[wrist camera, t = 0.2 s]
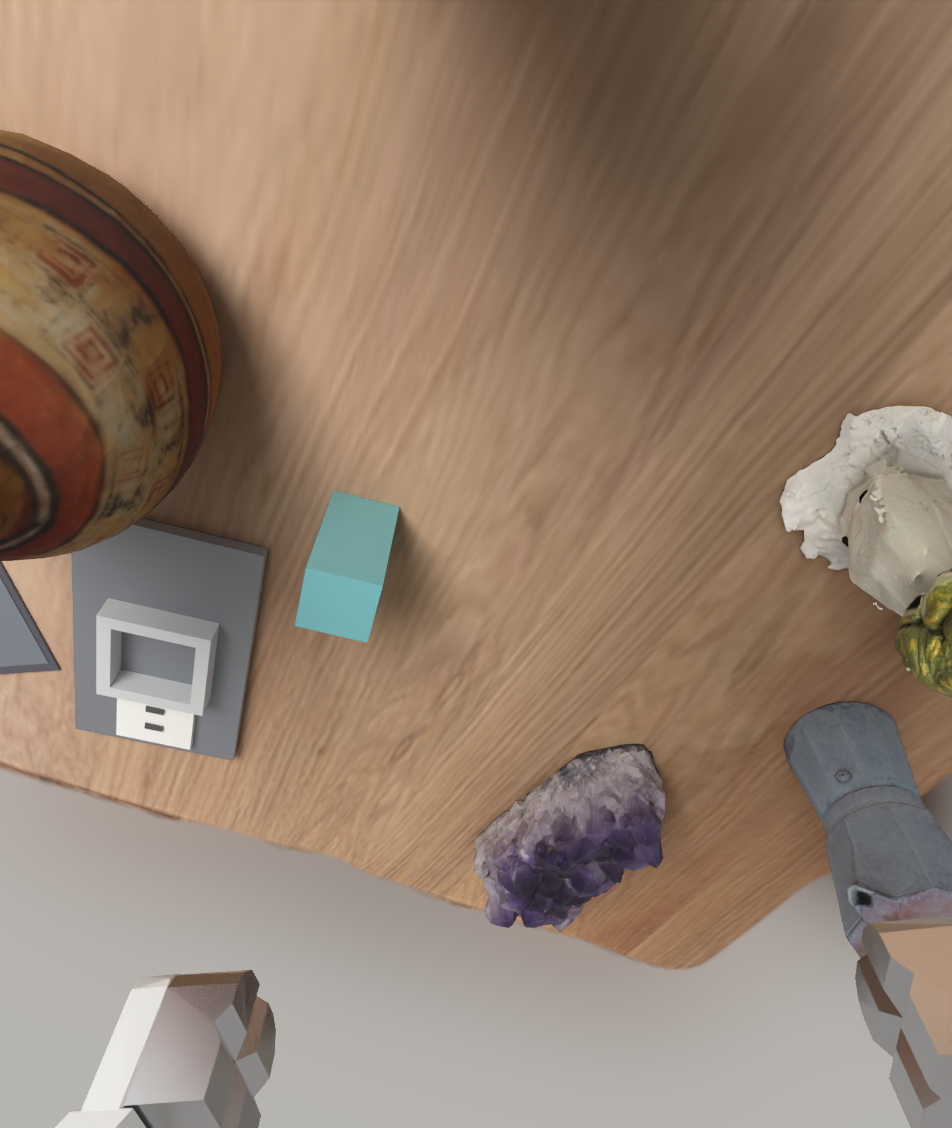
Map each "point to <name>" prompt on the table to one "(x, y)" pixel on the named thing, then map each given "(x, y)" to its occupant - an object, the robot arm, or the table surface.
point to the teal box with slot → (347, 567)
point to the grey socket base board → (165, 636)
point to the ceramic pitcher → (92, 354)
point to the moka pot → (871, 817)
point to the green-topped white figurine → (888, 524)
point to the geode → (572, 837)
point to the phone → (20, 634)
